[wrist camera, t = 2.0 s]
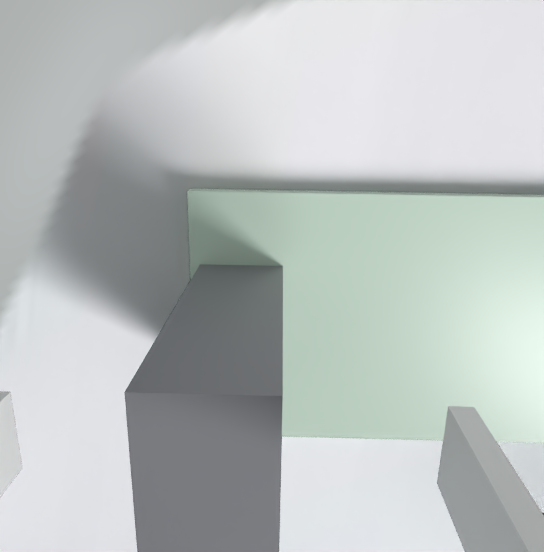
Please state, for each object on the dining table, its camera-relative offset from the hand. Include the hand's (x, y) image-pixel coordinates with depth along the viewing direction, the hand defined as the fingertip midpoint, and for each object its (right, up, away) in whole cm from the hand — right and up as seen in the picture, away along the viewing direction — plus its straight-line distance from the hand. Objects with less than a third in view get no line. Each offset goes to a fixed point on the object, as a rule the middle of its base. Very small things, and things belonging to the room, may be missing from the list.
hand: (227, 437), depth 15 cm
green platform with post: (+8, +3, +11) cm, 14 cm away
